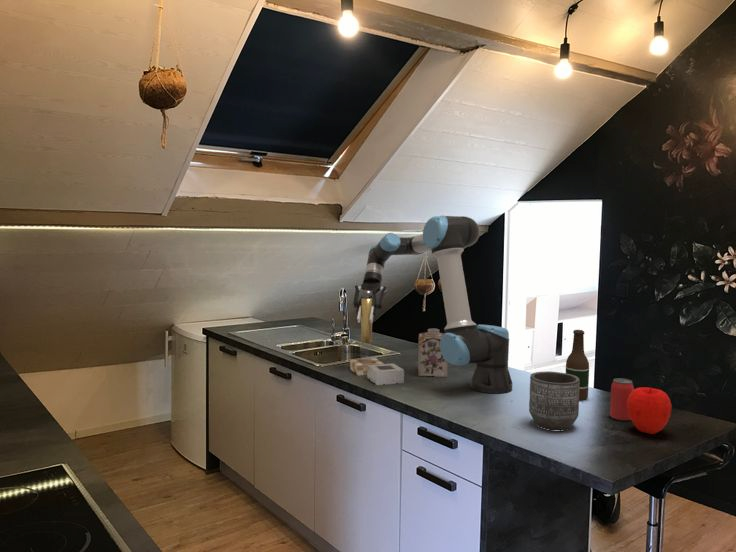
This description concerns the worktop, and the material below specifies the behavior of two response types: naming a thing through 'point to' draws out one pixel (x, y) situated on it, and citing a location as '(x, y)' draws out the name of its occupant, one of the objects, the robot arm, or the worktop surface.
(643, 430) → the apple
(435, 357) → the decorative jar
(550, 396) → the planter
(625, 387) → the beer can
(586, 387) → the beer bottle
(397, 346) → the worktop surface
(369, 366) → the socket block
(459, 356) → the robot arm
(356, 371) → the rack block
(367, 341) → the yellow glass cylinder
